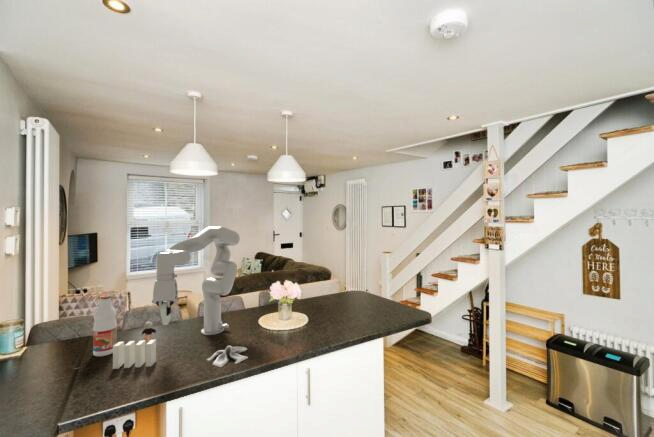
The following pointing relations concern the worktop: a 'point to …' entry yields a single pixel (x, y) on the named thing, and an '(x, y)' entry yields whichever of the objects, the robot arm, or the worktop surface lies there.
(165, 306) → the domino
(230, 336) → the worktop surface
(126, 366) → the domino
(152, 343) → the domino
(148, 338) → the grandmother figurine
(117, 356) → the domino
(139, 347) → the domino
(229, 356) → the cloth
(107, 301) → the fruit juice
